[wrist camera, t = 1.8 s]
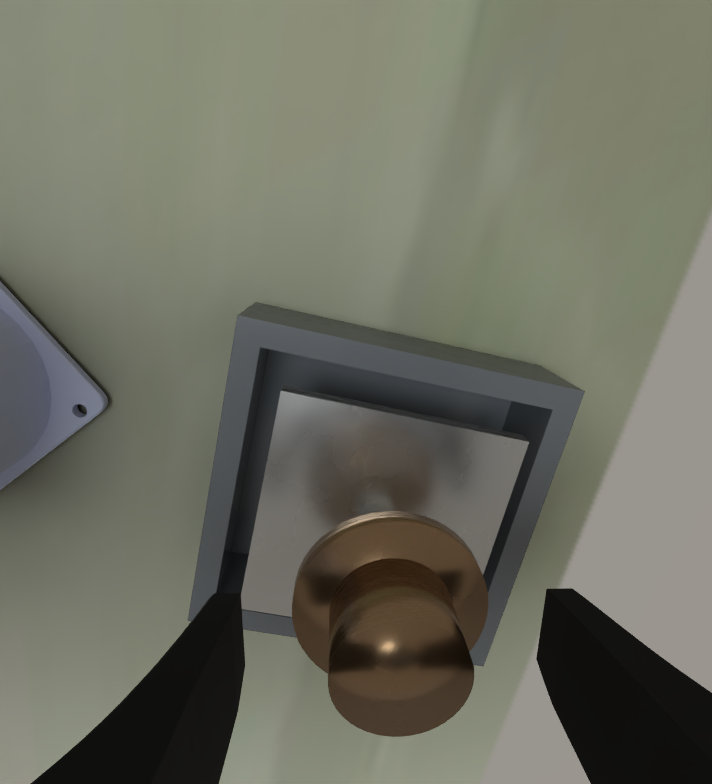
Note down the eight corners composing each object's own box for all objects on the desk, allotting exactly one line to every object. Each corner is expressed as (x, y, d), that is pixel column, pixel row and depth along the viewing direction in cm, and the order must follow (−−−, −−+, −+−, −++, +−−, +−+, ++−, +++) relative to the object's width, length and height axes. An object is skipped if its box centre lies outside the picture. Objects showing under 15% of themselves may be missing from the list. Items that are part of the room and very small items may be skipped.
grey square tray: (460, 602, 22) (483, 666, 19) (211, 560, 21) (187, 620, 17) (540, 365, 19) (584, 391, 16) (255, 302, 18) (237, 315, 15)
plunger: (454, 630, 18) (518, 831, 12) (241, 596, 17) (189, 792, 11) (522, 434, 16) (641, 553, 10) (282, 385, 15) (247, 480, 9)
